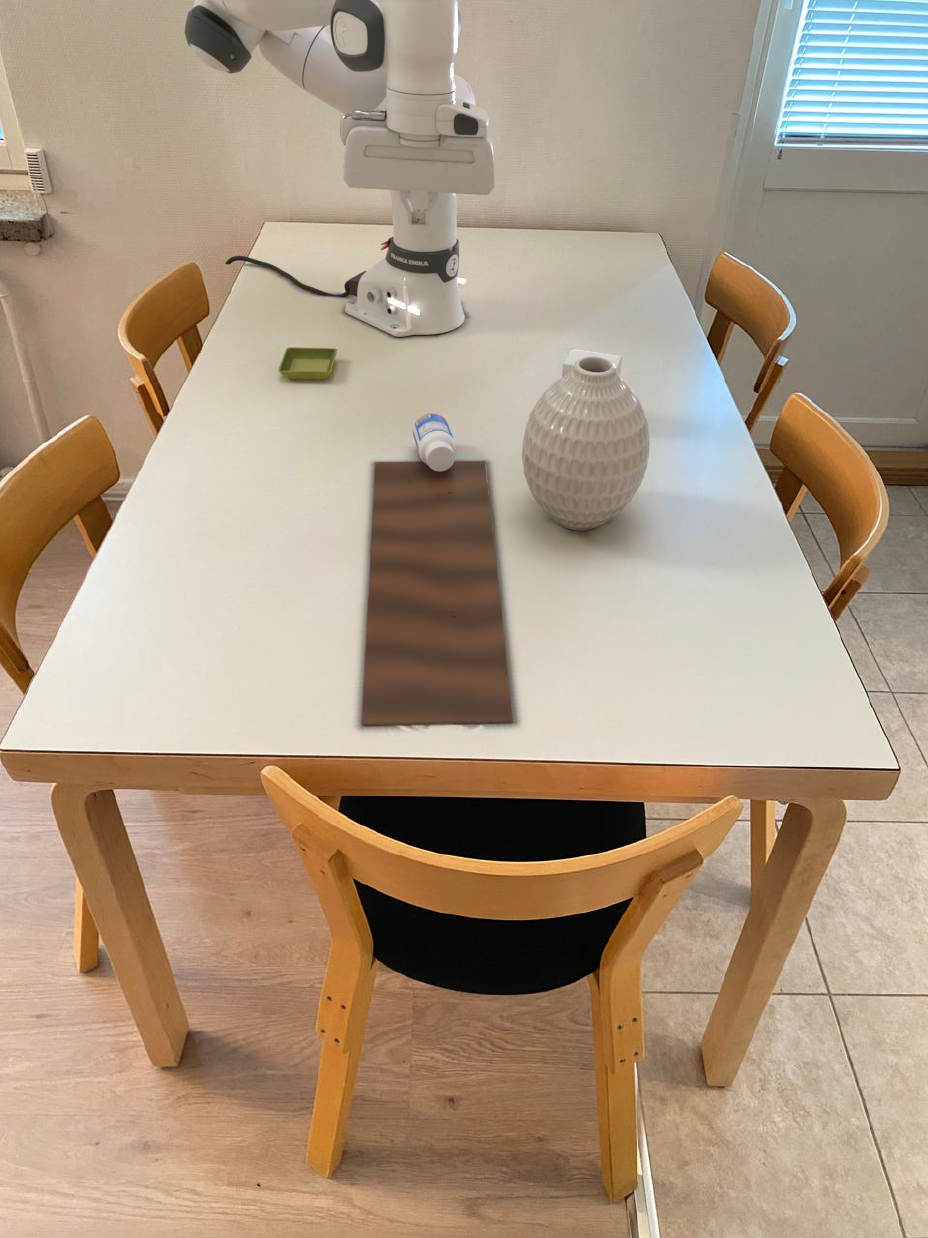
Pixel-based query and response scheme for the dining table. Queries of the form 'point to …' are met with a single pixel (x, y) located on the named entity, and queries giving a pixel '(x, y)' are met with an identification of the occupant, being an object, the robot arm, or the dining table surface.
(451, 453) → the pill bottle
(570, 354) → the small box
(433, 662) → the board
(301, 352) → the green square tray
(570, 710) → the dining table surface
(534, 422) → the vase
